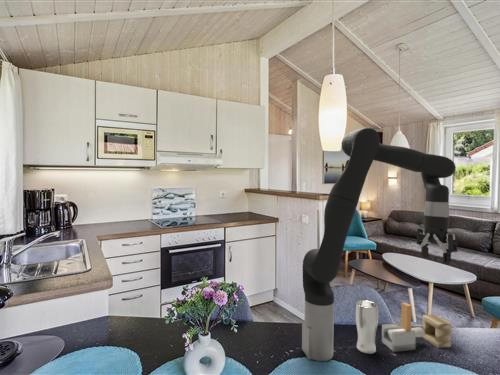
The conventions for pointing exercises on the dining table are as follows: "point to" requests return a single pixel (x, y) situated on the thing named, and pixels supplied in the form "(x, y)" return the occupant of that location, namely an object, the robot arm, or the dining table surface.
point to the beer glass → (366, 325)
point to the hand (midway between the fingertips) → (435, 260)
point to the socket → (437, 331)
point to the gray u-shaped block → (398, 338)
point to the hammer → (407, 322)
